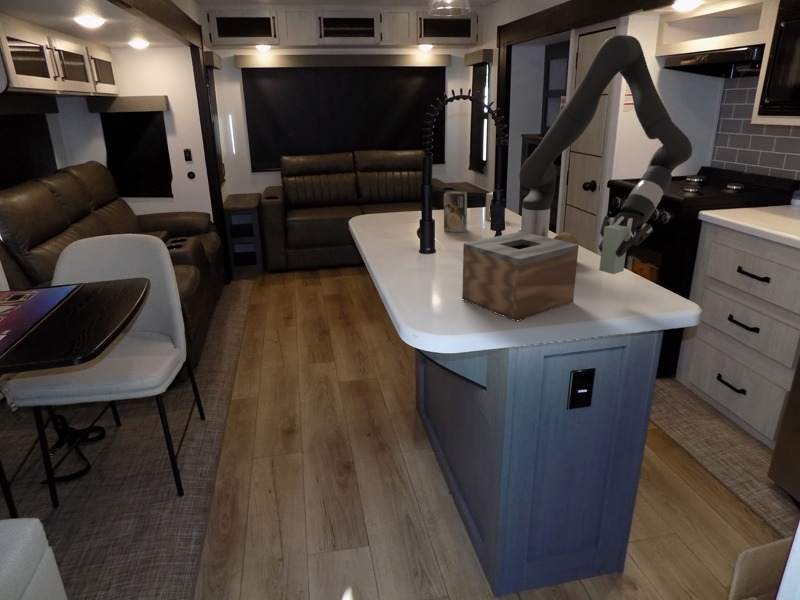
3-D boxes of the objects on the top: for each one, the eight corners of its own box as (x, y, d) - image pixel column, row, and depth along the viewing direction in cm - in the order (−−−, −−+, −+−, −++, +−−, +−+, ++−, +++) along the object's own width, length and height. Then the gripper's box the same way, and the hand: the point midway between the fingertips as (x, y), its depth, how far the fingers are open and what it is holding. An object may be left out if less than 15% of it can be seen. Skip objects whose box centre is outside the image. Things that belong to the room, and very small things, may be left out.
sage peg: (599, 270, 146) (604, 226, 141) (608, 267, 148) (614, 224, 144) (613, 274, 142) (619, 229, 138) (623, 271, 145) (629, 227, 140)
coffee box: (467, 229, 231) (468, 191, 225) (464, 232, 225) (465, 194, 219) (446, 228, 233) (446, 191, 228) (443, 231, 228) (443, 193, 222)
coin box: (462, 299, 149) (463, 243, 143) (517, 284, 161) (520, 231, 155) (516, 321, 133) (520, 259, 128) (572, 302, 145) (578, 244, 140)
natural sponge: (554, 256, 188) (556, 228, 185) (580, 259, 184) (583, 231, 180) (546, 263, 181) (548, 233, 177) (573, 266, 176) (576, 236, 173)
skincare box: (491, 217, 252) (492, 191, 248) (500, 218, 250) (501, 192, 246) (484, 220, 248) (485, 193, 244) (493, 221, 245) (494, 194, 241)
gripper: (613, 189, 148) (581, 239, 145) (663, 196, 137) (629, 250, 134) (622, 206, 152) (591, 255, 150) (671, 214, 141) (638, 267, 139)
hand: (609, 252), depth 142 cm, fingers closed on sage peg, 4 cm apart
